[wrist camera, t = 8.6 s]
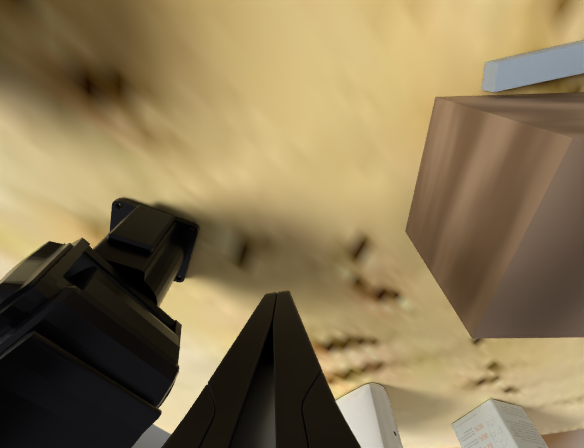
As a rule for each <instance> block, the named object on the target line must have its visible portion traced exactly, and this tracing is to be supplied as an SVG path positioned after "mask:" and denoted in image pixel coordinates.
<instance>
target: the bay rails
mask: <svg viewBox="0 0 584 448" xmlns="http://www.w3.org/2000/svg"><path fill="white" fill-rule="evenodd" d="M582 73H584V40H581V41H576V42H572V43H568V44H563V45H559V46H554V47H550V48H545V49H541V50H537V51H532V52H528V53H523V54H519V55H514V56H510V57H506V58H501V59H497V60H492V61H488V62H485V69H484V77H483V84H482V90H485V91H490V92H497V91H502V90H507V89H511V88H516V87H521V86H525V85H530V84H535V83H539V82H544V81H549V80H554V79H558V78H563V77H568V76H572V75H577V74H582Z"/></svg>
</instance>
